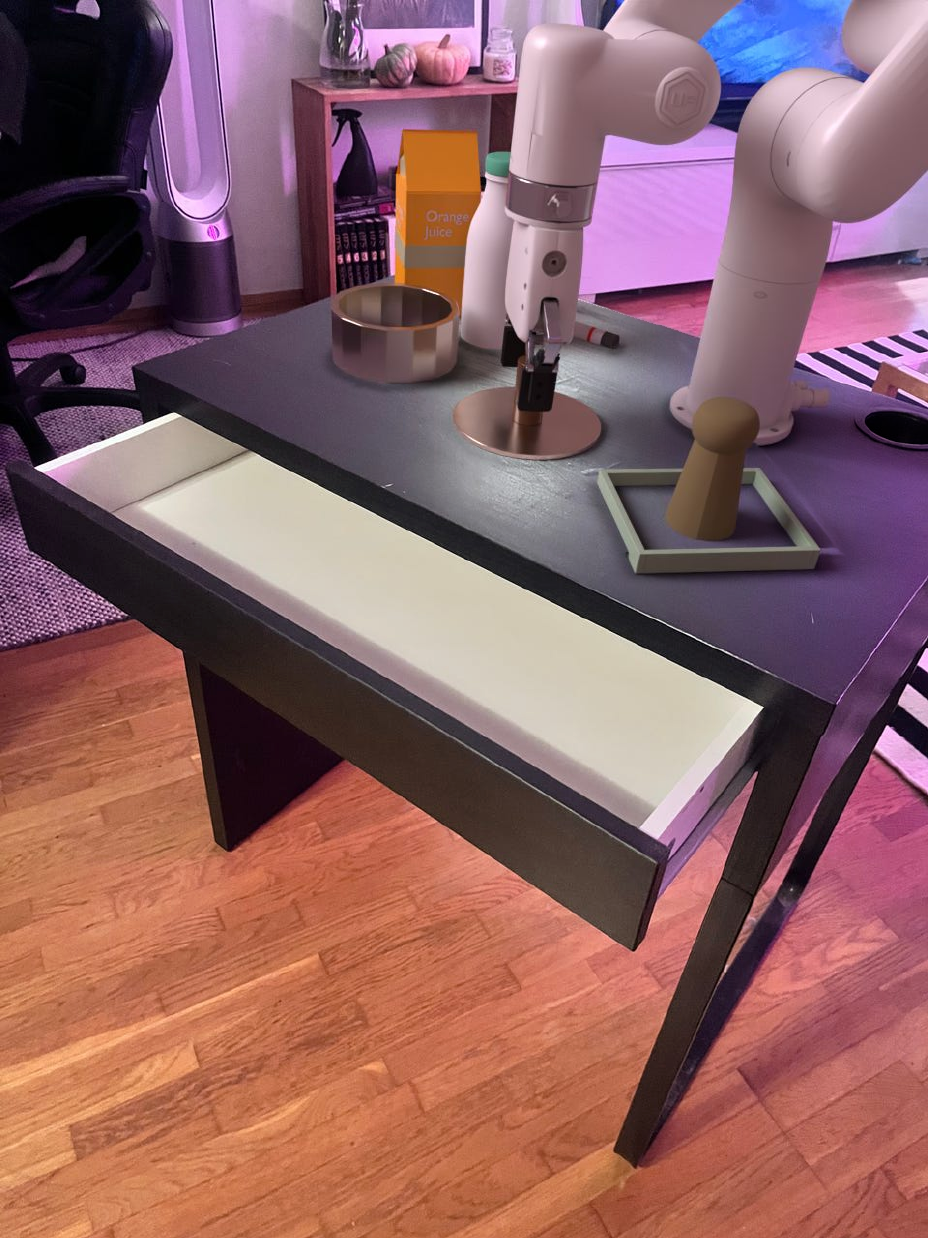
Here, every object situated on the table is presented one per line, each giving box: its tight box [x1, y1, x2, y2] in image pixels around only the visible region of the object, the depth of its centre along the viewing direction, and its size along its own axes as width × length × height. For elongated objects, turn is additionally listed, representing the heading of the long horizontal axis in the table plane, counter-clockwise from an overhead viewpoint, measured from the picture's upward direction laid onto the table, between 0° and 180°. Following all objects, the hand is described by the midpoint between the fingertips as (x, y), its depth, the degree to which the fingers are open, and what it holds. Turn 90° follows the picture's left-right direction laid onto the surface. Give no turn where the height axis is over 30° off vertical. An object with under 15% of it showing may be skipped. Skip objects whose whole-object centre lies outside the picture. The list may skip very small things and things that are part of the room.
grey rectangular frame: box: [596, 467, 822, 574], centre depth 78 cm, size 15×13×2 cm
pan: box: [330, 282, 461, 384], centre depth 100 cm, size 14×14×6 cm
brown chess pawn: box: [664, 397, 760, 542], centre depth 75 cm, size 6×6×11 cm
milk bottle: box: [460, 151, 514, 351], centre depth 102 cm, size 8×8×20 cm
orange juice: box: [394, 128, 482, 318], centre depth 109 cm, size 8×9×20 cm
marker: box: [573, 320, 621, 350], centre depth 111 cm, size 15×2×2 cm, turn 54°
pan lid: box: [452, 354, 602, 461], centre depth 89 cm, size 15×15×7 cm
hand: (524, 387), depth 88 cm, fingers open, 9 cm apart
